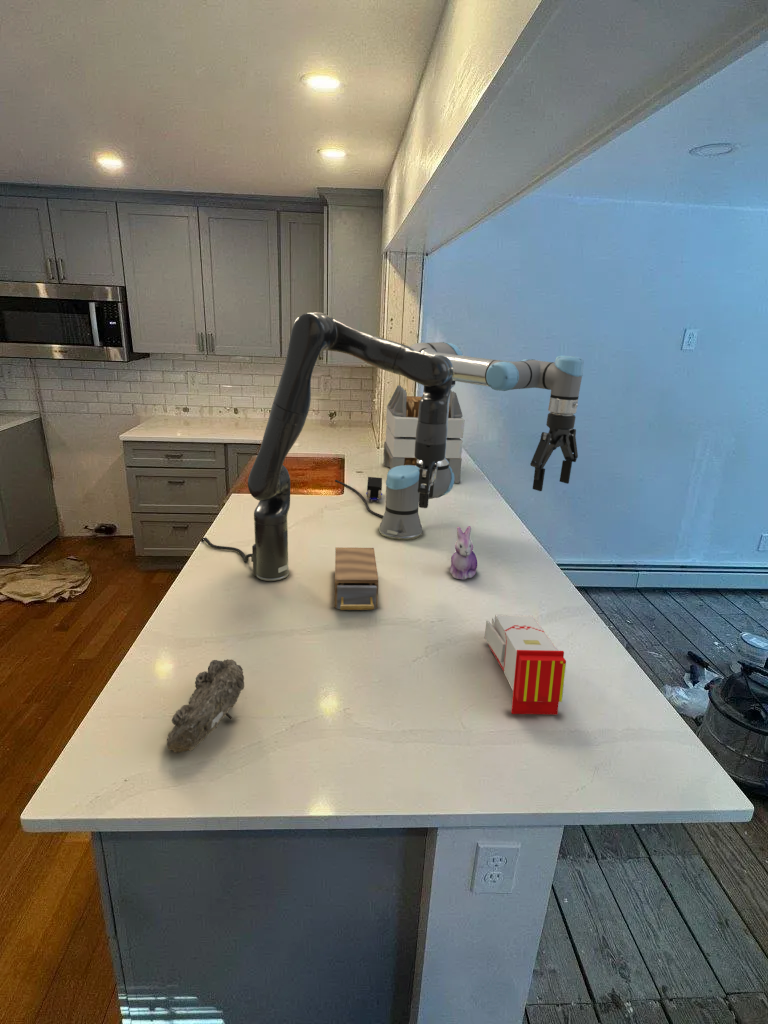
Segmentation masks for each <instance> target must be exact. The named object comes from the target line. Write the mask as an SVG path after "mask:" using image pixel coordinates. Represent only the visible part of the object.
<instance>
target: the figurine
mask: <svg viewBox="0 0 768 1024" xmlns="http://www.w3.org/2000/svg"><path fill="white" fill-rule="evenodd" d="M471 533H472V526H471V525H468V526H467V527H466V529H465V530H464V532H463V530H462V528H461V527H460V526H457V527H456V538H457V540H456V542H455V543H454V550H455V552H454V553H453V554H452V555H451V558H450V559H451V560H450V567H449V573H450V574H451V575H452V578H454V579H458V580H467V579H471V578H473V577H474V576H475V575H476V573H477V569H478V564H479V563H478V559H477V555H476V553H475V552H474V543H473V541H472V539H471Z"/></svg>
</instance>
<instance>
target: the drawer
mask: <svg viewBox="0 0 768 1024" xmlns="http://www.w3.org/2000/svg"><path fill="white" fill-rule="evenodd" d="M376 589H377V587H376V585H372V583H340V585H337V608H336V609H337V610H341V611H374V610H376V609H377V608H376Z"/></svg>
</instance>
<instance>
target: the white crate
mask: <svg viewBox="0 0 768 1024" xmlns="http://www.w3.org/2000/svg"><path fill="white" fill-rule="evenodd" d="M407 394H408V393H407V390H406V389H404V388H403V387H402V385H399V384H398V385H397V386H396V388H395V390H394V392H393V394H392V395H391V398H390V400H389V402H388V404H387V405H386V413H385V414H386V415H385V423H386V428H385V438H384V442H383V466H384V467H388V468H389V470H390V469H392V468H394V467H396V466H401V465H404V466H405V465H413V466H416V461H417V459H416V458H415V456H414V455H415V440H416V428H417V423H418V411H419V403H420V400H421V398H422V396H415V395H414V396H413V395H412V396H411V395H407ZM464 429H465V419H464V418H463V411H462V408H461V405H460V402H459V398H458V395H457V392H455V391H453V390H452V389H451V390H450V401H449V414H448V427H447V440H446V453H445V458H446V459H447V460H448V462H449V466H450V467H451V469H452V472H453V473H454V484H455V483H456V484H459V483H461V472H462V461H463V460H462V453H463V442H464V441H463V440H462V439H463V438H464V431H465V430H464Z"/></svg>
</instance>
